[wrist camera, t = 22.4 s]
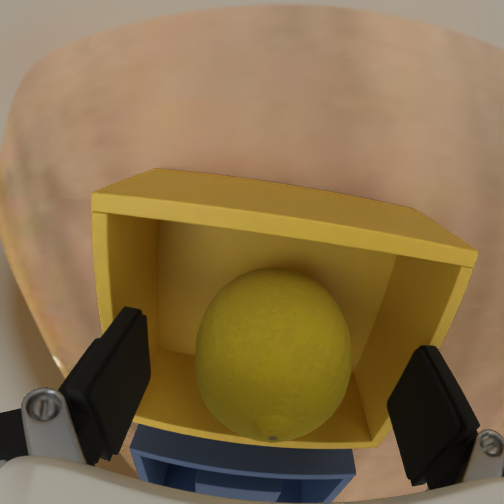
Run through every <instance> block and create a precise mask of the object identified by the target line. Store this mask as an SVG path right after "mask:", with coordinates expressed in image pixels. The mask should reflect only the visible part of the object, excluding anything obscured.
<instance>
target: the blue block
mask: <svg viewBox="0 0 504 504" xmlns="http://www.w3.org/2000/svg"><path fill="white" fill-rule="evenodd" d="M195 493H199V494H205V495H211V496H217V497H224V498H232V499H241V500H250V501H262V502H276V500H277V499H278V497H279V495H280V494H281V479H280V478H264V477H253V476H243V475H234V474H227V473H220V472H213V471H207V470H201V469H198V472H197V477H196V481H195Z"/></svg>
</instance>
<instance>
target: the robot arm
mask: <svg viewBox="0 0 504 504" xmlns="http://www.w3.org/2000/svg"><path fill="white" fill-rule="evenodd" d="M150 378H151V366H150V354H149V341H148V326H147V316H146V315H144V314H142V310H141V309H137V308H132V307H127V306H124V307H123V309H122V310H121V311H120V312H119V314H118V315H117V316H116V318H115V319H114V320H113V322H112V323H111V324H110V326H109V327H108V328H107V330H106V331H105V332H104V334H103V335H102V336H101V338H97V339H95V340H94V341H93V342H92V343H91V345H90V346H89V347H88V349H87V350H86V352H85V353H84V354H83V356H82V357H81V358H80V360H79V361H78V363H77V364H76V365H75V367H74V368H73V369H72V371H71V372H70V374H69V375H68V376H67V378H66V379H65V381H64V382H63V384H62V385H61V386H60V388H59V390H58V391H57V390H55V389H53V388H48V387H44V388H37V389H34V390H33V391H31V392H29V393H28V394H27V395H26V396H25V397H24V399H23V401H22V403H21V408H20V409H16V410H12V411H8V412H3V413H0V504H504V438H503V437H502V436H501V435H500V434H499V433H498V432H496V431H494V430H491V429H485V430H482V431H481V432H479V433H478V432H477V429H478V428H479V426H480V424H479V422H478V420H477V418H476V416H475V414H474V412H473V410H472V408H471V406H470V405H469V403H468V401H467V399H466V397H465V395H464V393H463V392H462V390H461V388H460V386H459V384H458V383H457V381H456V379H455V377H454V376H453V374H452V372H451V371H450V369H449V367H448V365H447V364H446V362H445V360H444V359H443V357H442V355H441V354H440V352H439V350H438V349H437V347H436V346H433V345H421V346H419V347H418V349H416V350H414V352H413V354H412V356H411V358H410V360H409V362H408V364H407V366H406V368H405V370H404V371H403V373H402V375H401V377H400V379H399V381H398V383H397V384H396V386H395V388H394V390H393V391H392V393H391V395H390V397H389V398H388V400H387V411H388V414H389V417H390V420H391V423H392V427H393V430H394V433H395V437H396V440H397V444H398V447H399V451H400V454H401V458H402V461H403V465H404V469H405V472H406V476H407V478H408V479H409V480H411V484H412V486H418V485H423V484H425V483H426V482H427V485H428V487H427V489H426V491H424V492H419V493H413V494H408V495H402V496H396V497H389V498H381V499H373V500H363V501H352V502H336V503H279V502H262V501H250V500H241V499H232V498H224V497H217V496H211V495H205V494H199V493H194V492H189V491H184V490H179V489H175V488H170V487H166V486H161V485H157V484H153V483H149V482H145V481H142V480H138V479H134V478H131V477H127V476H124V475H121V474H118V473H114V472H111V471H107V470H104V469H101V468H97V467H96V466H95V464H96V463H98V461H99V458H102V459H105V460H108V461H110V460H111V457H112V455H113V454H114V455H117V454H118V453H119V451H120V449H121V446H122V444H123V441H124V439H125V437H126V434H127V432H128V430H129V427H130V425H131V423H132V420H133V418H134V416H135V414H136V411H137V409H138V407H139V404H140V402H141V400H142V398H143V395H144V393H145V391H146V389H147V386H148V384H149V382H150Z"/></svg>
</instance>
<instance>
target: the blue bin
mask: <svg viewBox="0 0 504 504" xmlns="http://www.w3.org/2000/svg"><path fill="white" fill-rule="evenodd" d="M129 449H130V452H131V455H132V458H133V461H134V464H135V467H136V470H137V472H138V475H139V478H140V480H142V481H145V482H149V483H153V484H157V485H161V486H166V487H170V488H175V489H179V490H184V491H189V492H194V493H195V481H196V477H197V472H198V469H201V470H207V471H213V472H220V473H227V474H234V475H243V476H253V477H264V478H280V479H281V494H280V495H279V497H278V499H277V500H276V502H279V503H331V502H332V501H333V500H334V499H335V497H336V496H337V495H338V494H339V493H340V492H341V491H342V490H343V489H344V488H345V486H346V485H347V484H348V483H349V482H350V481H351V480H352V478H353V477H354V476H355V475H356V469H355V463H354V458H353V452H352V449H304V448H284V447H271V446H260V445H250V444H242V443H234V442H227V441H220V440H213V439H207V438H202V437H196V436H191V435H186V434H181V433H176V432H172V431H167V430H163V429H159V428H155V427H151V426H147V425H143V424H139V425H138V427H137V430H136V432H135V435H134V437H133V440H132V442H131V445H130V447H129Z"/></svg>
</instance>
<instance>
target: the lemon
mask: <svg viewBox="0 0 504 504" xmlns="http://www.w3.org/2000/svg"><path fill="white" fill-rule="evenodd" d="M351 367H352V353H351V340H350V333H349V329H348V326H347V323H346V321H345V319H344V316H343V314H342V312H341V309H340V307H339V305H338V304H337V302H336V301H335V299H334V298H333V297H332V296H331V295H330V294H329V292H328V291H327V290H326V289H325V288H324V287H323V286H322V285H321V284H320V283H318V282H317V281H315V280H314V279H312V278H311V277H309V276H308V275H306V274H303V273H300V272H297V271H295V270H292V269H288V268H278V267H268V268H261V269H255V270H253V271H250V272H248V273H245V274H242V275H240V276H238V277H237V278H235V279H234V280H232V281H231V282H230V283H228V284H227V285H225V286H224V287H223V288H222V289H221V290H220V292H219V293H218V294H217V295H216V296H215V298H214V299H213V300H212V301H211V303H210V304H209V306H208V307H207V309H206V311H205V314H204V316H203V319H202V321H201V324H200V326H199V329H198V333H197V337H196V347H195V374H196V380H197V383H198V386H199V390H200V393H201V396H202V399H203V401H204V402H205V404H206V406H207V407H208V409H209V410H210V411H211V413H212V414H213V416H214V417H215V418H216V419H217V420H218V421H219V422H221V423H222V424H223V425H224V426H226V427H227V428H228V429H230V430H231V431H233V432H235V433H237V434H239V435H241V436H243V437H246V438H249V439H253V440H256V441H262V442H269V443H276V442H282V441H289V440H292V439H295V438H299V437H302V436H304V435H306V434H308V433H310V432H312V431H313V430H315V429H317V428H318V427H319V426H321V425H322V424H323V423H324V422H325V421H327V420H328V419H329V418H330V417H331V416H332V415H333V413H334V412H335V410H336V409H337V408H338V406H339V405H340V403H341V401H342V400H343V398H344V395H345V392H346V389H347V386H348V383H349V379H350V375H351Z"/></svg>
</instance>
